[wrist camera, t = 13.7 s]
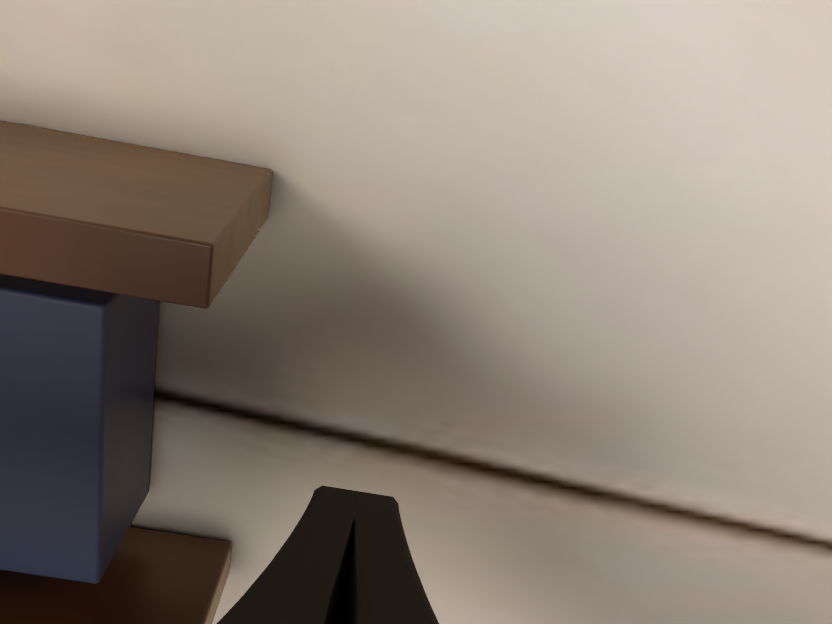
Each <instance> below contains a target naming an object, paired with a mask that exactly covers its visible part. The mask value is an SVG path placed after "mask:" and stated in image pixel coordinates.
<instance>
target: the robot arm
mask: <svg viewBox="0 0 832 624" xmlns="http://www.w3.org/2000/svg"><path fill="white" fill-rule="evenodd" d="M217 624H439V623H438V620H437V618H436V616H435V614H434V612H433V610H432V608H431V605H430V603H429V601H428V598H427V596H426V594H425V591H424V589H423V586H422V583H421V581H420V578H419V576H418V573H417V570H416V568H415V565H414V562H413V559H412V557H411V554H410V550H409V547H408V544H407V541H406V537H405V534H404V530H403V526H402V522H401V518H400V513H399V506H398V503H397V501H396V500H395V499H394V497H390V496H384V495H377V494H371V493H365V492H359V491H352V490H346V489H340V488H333V487H327V486H321V487H319V488H318V489H316V490H315V491H314V493H313V496H312V499H311V501H310V503H309V505H308V507H307V509H306V511H305V512H304V514H303V516H302V518H301V519H300V521H299V522H298V524H297V526H296V527H295V529H294V530H293V532H292V533H291V535H290V536H289V538H288V539H287V541H286V542H285V543H284V545H283V546H282V547H281V549H280V550H279V552H278V553H277V554H276V556H275V557H274V559H273V560H272V561H271V563H270V564H269V565H268V566H267V568H266V569H265V570H264V571H263V573H262V574H261V575H260V576H259V577H258V578H257V580H256V581H255V582H254V583H253V584H252V586H251V587H250V588H249V589H248V590H247V592H246V593H245V594H244V595H243V596H242V597H241V599H240V600H239V601H238V602H237V603H236V604H235V605H234V606H233V607H232V608H231V609H230V610H229V612H228V613H227V614H226V615H225V616H224V617H223V618H222V619H221V620H220V621H219V622H218V623H217Z"/></svg>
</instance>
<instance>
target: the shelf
mask: <svg viewBox="0 0 832 624" xmlns="http://www.w3.org/2000/svg"><path fill="white" fill-rule="evenodd" d="M272 174H273V172H272V170H270V169H265V168H260V167H254V166H249V165H243V164H237V163H232V162H226V161H221V160H215V159H210V158H204V157H199V156H193V155H188V154H182V153H177V152H171V151H166V150H160V149H155V148H149V147H143V146H138V145H132V144H127V143H121V142H116V141H110V140H105V139H99V138H94V137H88V136H83V135H77V134H72V133H66V132H60V131H55V130H49V129H44V128H38V127H33V126H27V125H22V124H16V123H11V122H5V121H0V274H4V275H10V276H16V277H22V278H28V279H34V280H39V281H45V282H51V283H57V284H63V285H69V286H75V287H81V288H87V289H93V290H99V291H105V292H110V293H116V294H122V295H128V296H134V297H140V298H146V299H152V300H158V301H164V302H170V303H176V304H181V305H187V306H193V307H199V308H209V306H210V305H211V303H212V302H213V300H214V298H215V297H216V295H217V294H218V292H219V291H220V289H221V288H222V286H223V285H224V283H225V282H226V280H227V279H228V277H229V276H230V274H231V273H232V271H233V270H234V268H235V267H236V265H237V264H238V262H239V260H240V259H241V257H242V256H243V254H244V253H245V251H246V250H247V248H248V247H249V245H250V244H251V242H252V241H253V239H254V238H255V236H256V235H257V233H258V232H259V230H260V229H261V227H262V226H263V224H264V222H265V221H266V219H267V218H268V211H269V202H270V192H271V183H272ZM231 549H232V546H231V543H230V542H227V541H220V540H213V539H207V538H200V537H194V536H187V535H180V534H174V533H167V532H160V531H154V530H147V529H141V528H134V527H129V528H128V530H127V532H126V534H125V536H124V538H123V540H122V541H121V543H120V545H119V547H118V549H117V551H116V552H115V554H114V556H113V558H112V560H111V562H110V564H109V565H108V567H107V569H106V571H105V573H104V575H103V577H102V578H101V580H100V582H99V583H96V584H93V583H87V582H80V581H73V580H66V579H60V578H53V577H46V576H39V575H32V574H26V573H19V572H12V571H5V570H0V624H212V622H213V619H214V616H215V613H216V610H217V607H218V604H219V601H220V598H221V595H222V592H223V589H224V586H225V583H226V580H227V577H228V574H229V567H230V558H231Z"/></svg>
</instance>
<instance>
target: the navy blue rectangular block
mask: <svg viewBox="0 0 832 624" xmlns="http://www.w3.org/2000/svg"><path fill="white" fill-rule="evenodd" d="M158 310H159V301H158V300H152V299H146V298H140V297H134V296H128V295H122V294H116V293H110V292H105V291H99V290H93V289H87V288H81V287H75V286H69V285H63V284H57V283H51V282H45V281H39V280H34V279H28V278H22V277H16V276H10V275H4V274H0V570H5V571H12V572H19V573H26V574H32V575H39V576H46V577H53V578H60V579H66V580H73V581H80V582H87V583H93V584H96V583H99V582H100V580H101V578H102V577H103V575H104V573H105V571H106V569H107V567H108V565H109V564H110V562H111V560H112V558H113V556H114V554H115V552H116V551H117V549H118V547H119V545H120V543H121V541H122V540H123V538H124V536H125V534H126V532H127V530H128V528H129V527H130V525H131V523H132V521H133V519H134V517H135V515H136V514H137V512H138V510H139V508H140V506H141V504H142V502H143V501H144V499H145V497H146V495H147V493H148V491H149V477H150V459H151V440H152V422H153V403H154V384H155V366H156V347H157V329H158Z"/></svg>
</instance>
